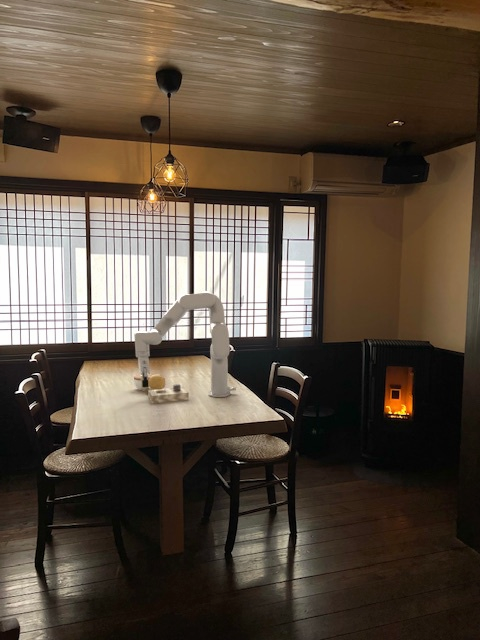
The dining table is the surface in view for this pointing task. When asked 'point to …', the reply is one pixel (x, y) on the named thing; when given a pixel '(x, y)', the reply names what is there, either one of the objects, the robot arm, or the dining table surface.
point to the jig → (168, 394)
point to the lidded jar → (139, 381)
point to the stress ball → (156, 382)
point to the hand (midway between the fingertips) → (144, 385)
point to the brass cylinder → (143, 387)
